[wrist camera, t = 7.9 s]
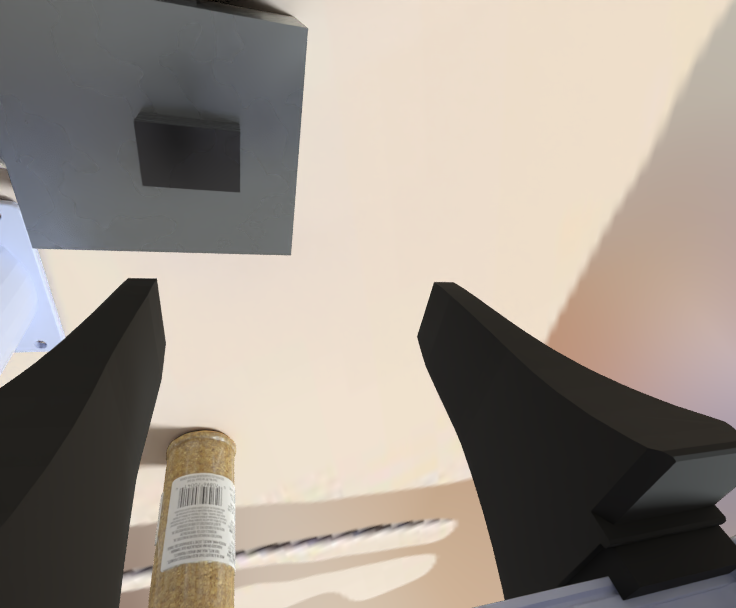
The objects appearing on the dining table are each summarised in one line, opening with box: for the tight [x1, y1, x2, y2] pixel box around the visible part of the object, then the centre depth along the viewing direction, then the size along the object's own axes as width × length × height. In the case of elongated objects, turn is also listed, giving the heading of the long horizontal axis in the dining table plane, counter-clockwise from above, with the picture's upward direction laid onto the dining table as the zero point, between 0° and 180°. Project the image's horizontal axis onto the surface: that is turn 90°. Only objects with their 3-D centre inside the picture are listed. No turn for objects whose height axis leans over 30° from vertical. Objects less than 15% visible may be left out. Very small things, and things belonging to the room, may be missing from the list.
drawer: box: [0, 0, 308, 255], centre depth 15 cm, size 11×8×5 cm
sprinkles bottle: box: [148, 430, 236, 608], centre depth 25 cm, size 5×5×14 cm
